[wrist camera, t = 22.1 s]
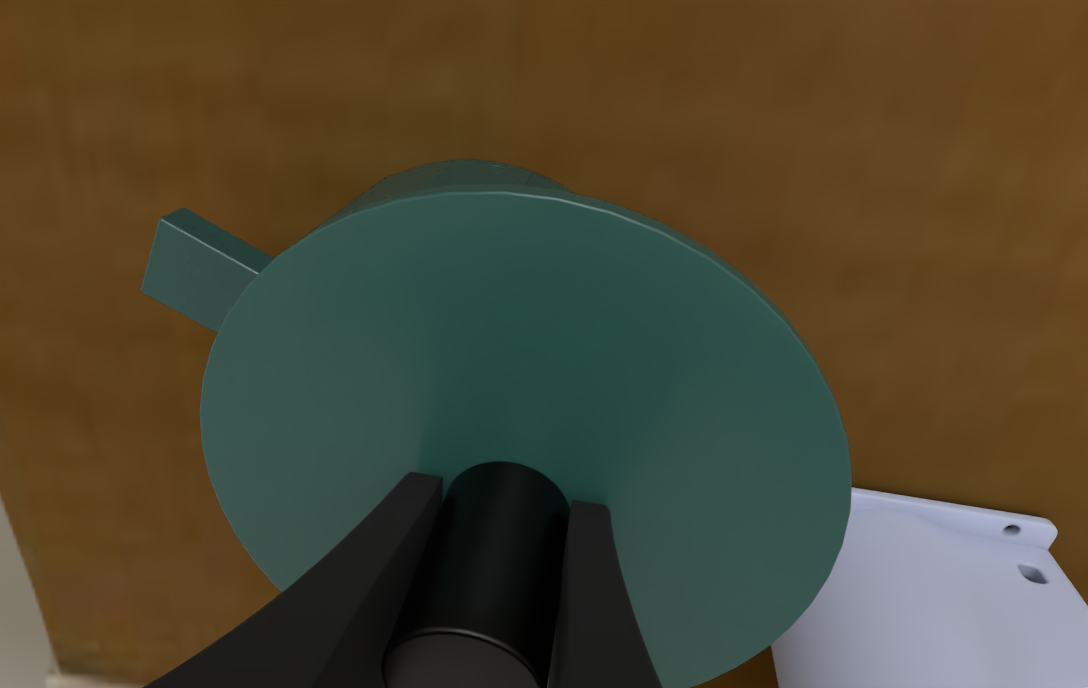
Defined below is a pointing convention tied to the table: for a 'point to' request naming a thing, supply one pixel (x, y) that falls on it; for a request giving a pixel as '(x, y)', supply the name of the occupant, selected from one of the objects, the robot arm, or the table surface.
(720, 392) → the lid
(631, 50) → the table surface
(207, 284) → the pot
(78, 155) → the table surface
